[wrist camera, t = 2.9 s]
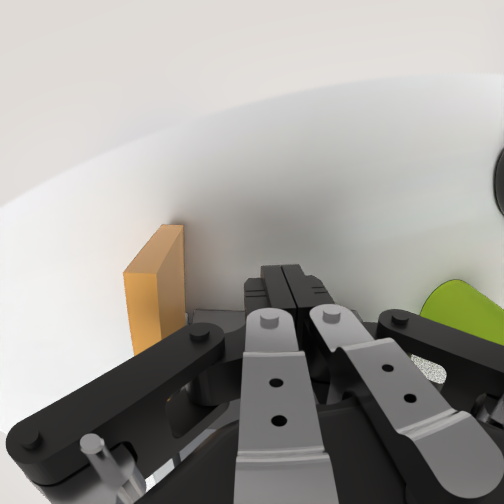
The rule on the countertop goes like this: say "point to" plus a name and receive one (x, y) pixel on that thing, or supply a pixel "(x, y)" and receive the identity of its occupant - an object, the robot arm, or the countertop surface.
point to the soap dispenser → (465, 311)
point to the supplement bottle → (500, 183)
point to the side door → (157, 298)
